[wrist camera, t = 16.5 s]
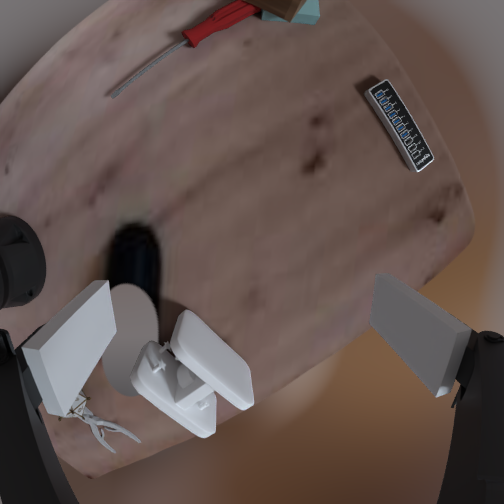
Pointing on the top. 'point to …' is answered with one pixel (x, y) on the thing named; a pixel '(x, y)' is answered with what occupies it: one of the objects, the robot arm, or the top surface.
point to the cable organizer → (192, 375)
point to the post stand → (298, 14)
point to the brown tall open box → (280, 7)
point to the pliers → (98, 421)
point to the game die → (77, 406)
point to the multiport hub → (399, 125)
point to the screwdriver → (206, 30)
